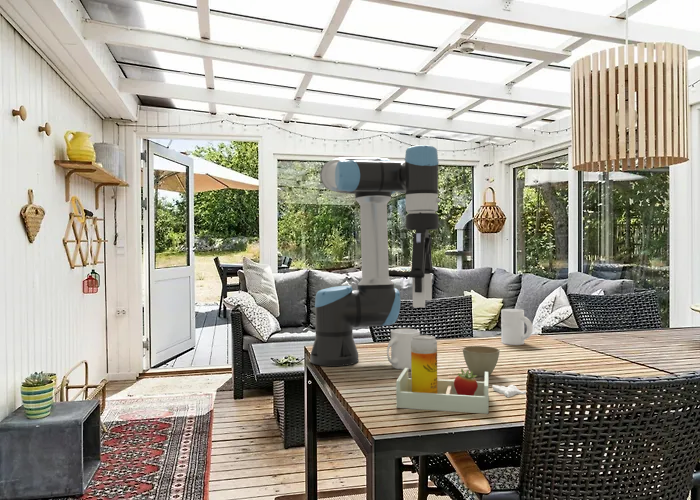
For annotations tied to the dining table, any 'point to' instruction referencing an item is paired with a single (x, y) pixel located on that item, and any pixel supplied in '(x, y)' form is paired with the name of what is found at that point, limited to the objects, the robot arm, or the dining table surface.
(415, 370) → the beer can
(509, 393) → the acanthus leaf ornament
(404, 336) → the mug
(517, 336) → the mug
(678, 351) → the dining table surface
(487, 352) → the flower pot
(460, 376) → the fruit
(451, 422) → the dining table surface
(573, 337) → the dining table surface
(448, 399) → the crate
